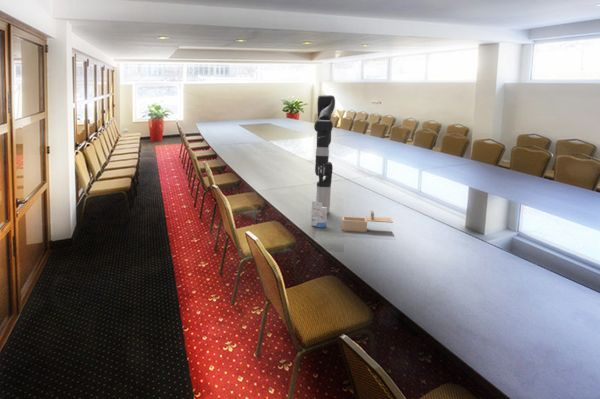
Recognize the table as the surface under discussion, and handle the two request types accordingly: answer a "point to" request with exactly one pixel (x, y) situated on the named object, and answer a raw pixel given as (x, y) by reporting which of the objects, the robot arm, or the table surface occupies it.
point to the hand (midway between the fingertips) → (320, 184)
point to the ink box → (318, 215)
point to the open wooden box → (354, 224)
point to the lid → (378, 218)
